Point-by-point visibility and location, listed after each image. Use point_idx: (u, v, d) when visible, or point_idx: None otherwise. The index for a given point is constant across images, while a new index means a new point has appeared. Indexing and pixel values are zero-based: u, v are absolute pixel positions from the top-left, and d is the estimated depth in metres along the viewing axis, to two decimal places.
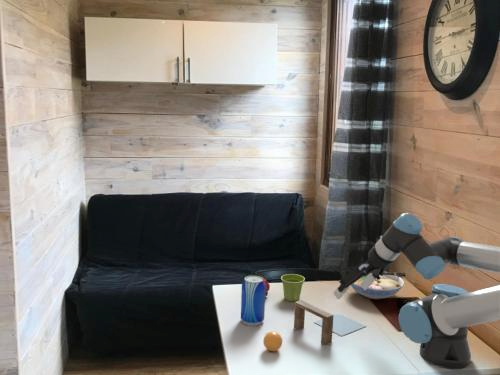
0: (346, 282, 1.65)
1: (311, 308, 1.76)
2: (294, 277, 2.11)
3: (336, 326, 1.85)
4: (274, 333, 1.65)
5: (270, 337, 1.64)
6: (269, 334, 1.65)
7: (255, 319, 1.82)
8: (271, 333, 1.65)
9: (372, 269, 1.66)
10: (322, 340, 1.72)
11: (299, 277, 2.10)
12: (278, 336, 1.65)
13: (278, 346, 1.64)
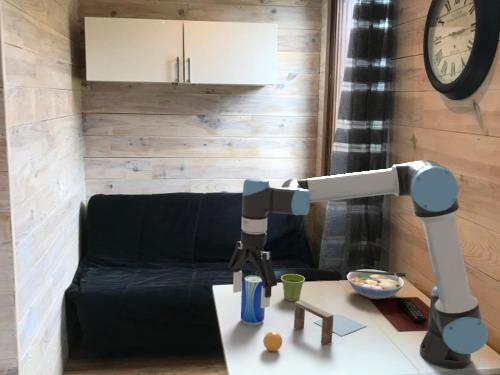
0: (274, 278, 1.49)
1: (311, 308, 1.76)
2: (294, 277, 2.11)
3: (336, 326, 1.85)
4: (274, 333, 1.65)
5: (270, 337, 1.64)
6: (269, 334, 1.65)
7: (255, 319, 1.82)
8: (271, 333, 1.65)
9: None
10: (322, 340, 1.72)
11: (299, 277, 2.10)
12: (278, 336, 1.65)
13: (278, 346, 1.64)
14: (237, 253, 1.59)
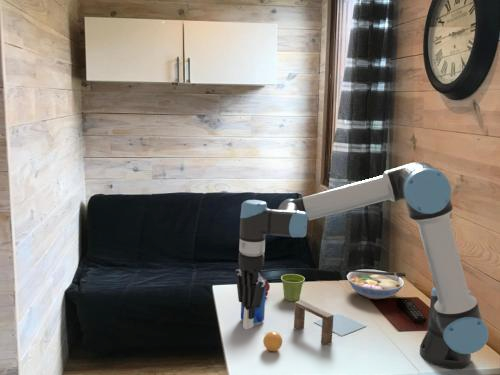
0: (259, 303, 1.54)
1: (311, 308, 1.76)
2: (294, 277, 2.11)
3: (336, 326, 1.85)
4: (274, 333, 1.65)
5: (270, 337, 1.64)
6: (269, 334, 1.65)
7: (255, 319, 1.82)
8: (271, 333, 1.65)
9: None
10: (322, 340, 1.72)
11: (299, 277, 2.10)
12: (278, 336, 1.65)
13: (278, 346, 1.64)
14: (240, 281, 1.58)
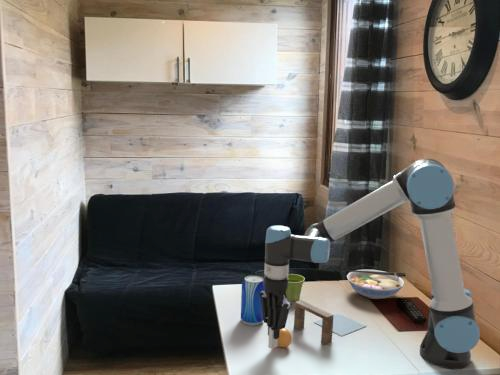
0: (284, 323, 1.62)
1: (311, 308, 1.76)
2: (294, 277, 2.11)
3: (336, 326, 1.85)
4: None
5: (286, 329, 1.68)
6: None
7: (255, 319, 1.82)
8: None
9: None
10: (322, 340, 1.72)
11: (299, 277, 2.10)
12: (291, 335, 1.69)
13: (287, 341, 1.66)
14: (264, 303, 1.66)
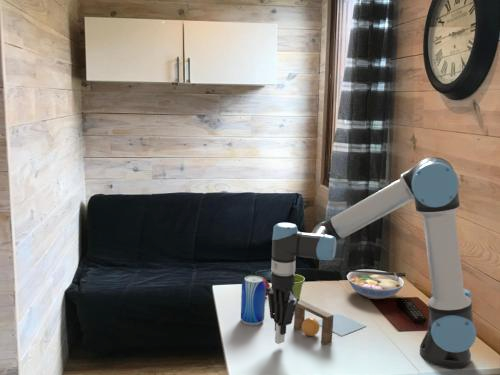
0: (291, 319, 1.64)
1: (311, 308, 1.76)
2: None
3: (336, 326, 1.85)
4: (307, 324, 1.75)
5: (306, 330, 1.75)
6: (303, 327, 1.75)
7: (255, 319, 1.82)
8: (304, 326, 1.75)
9: None
10: (322, 340, 1.72)
11: (299, 277, 2.10)
12: (311, 325, 1.75)
13: (317, 331, 1.75)
14: (271, 299, 1.68)
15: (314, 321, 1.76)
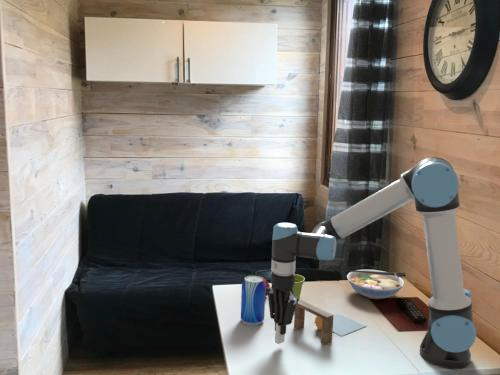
0: (291, 319, 1.64)
1: (311, 308, 1.76)
2: None
3: (336, 326, 1.85)
4: None
5: None
6: None
7: (255, 319, 1.82)
8: None
9: None
10: (322, 340, 1.72)
11: (299, 277, 2.10)
12: None
13: None
14: (271, 299, 1.68)
15: None
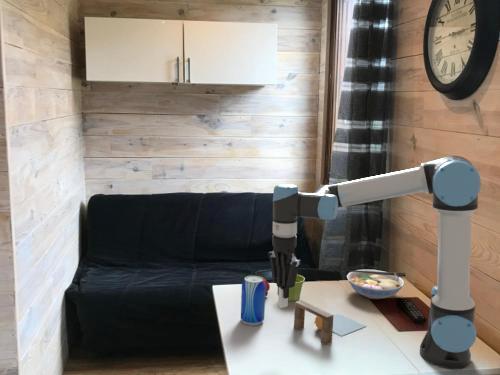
0: (293, 282, 1.61)
1: (311, 308, 1.76)
2: None
3: (336, 326, 1.85)
4: None
5: None
6: None
7: (255, 319, 1.82)
8: None
9: None
10: (322, 340, 1.72)
11: (299, 277, 2.10)
12: None
13: None
14: (274, 263, 1.66)
15: None
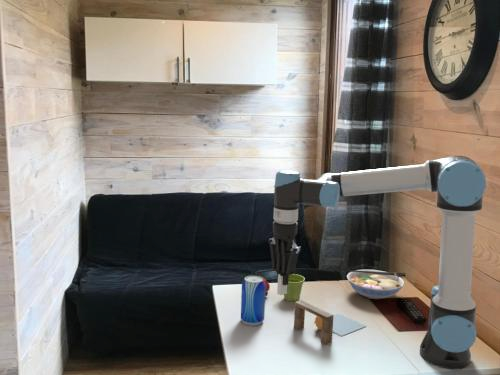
0: (293, 269, 1.61)
1: (311, 308, 1.76)
2: (294, 277, 2.11)
3: (336, 326, 1.85)
4: None
5: None
6: None
7: (255, 319, 1.82)
8: None
9: None
10: (322, 340, 1.72)
11: (299, 277, 2.10)
12: None
13: None
14: (274, 250, 1.65)
15: None
